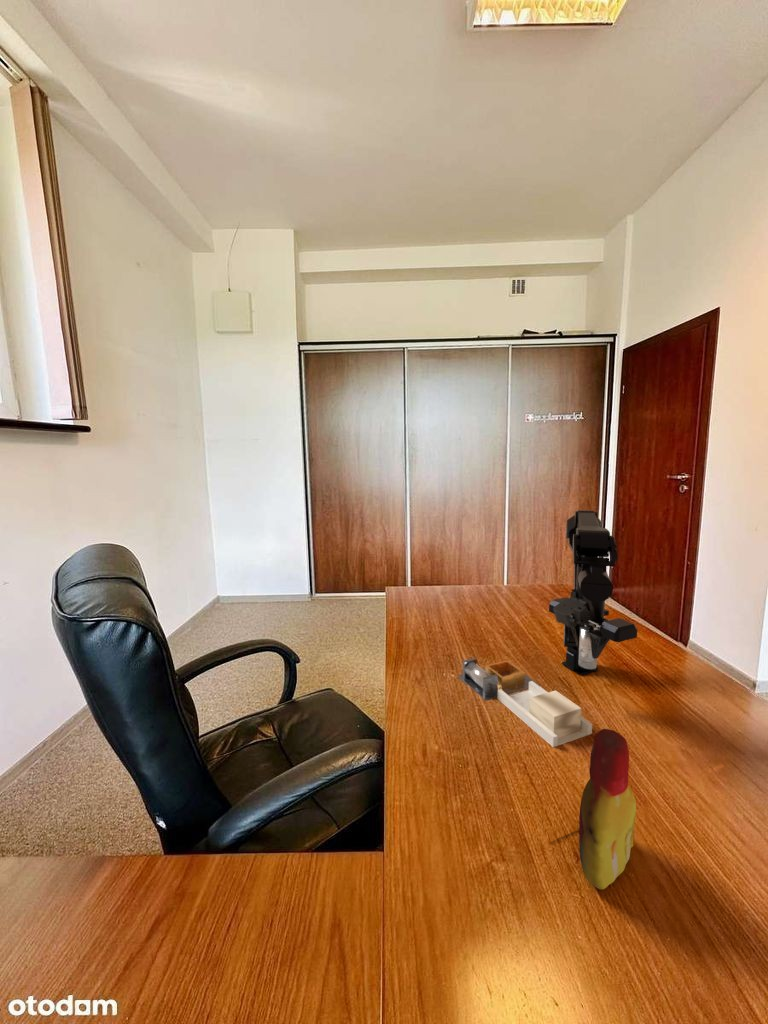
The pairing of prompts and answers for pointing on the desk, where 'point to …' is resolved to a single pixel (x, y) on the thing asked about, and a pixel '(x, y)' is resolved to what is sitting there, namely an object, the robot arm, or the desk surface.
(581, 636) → the capped metal canister
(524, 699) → the bay
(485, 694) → the grey metal holder
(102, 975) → the desk surface
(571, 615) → the robot arm
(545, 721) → the pale wooden block
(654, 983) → the desk surface
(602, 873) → the bottle
